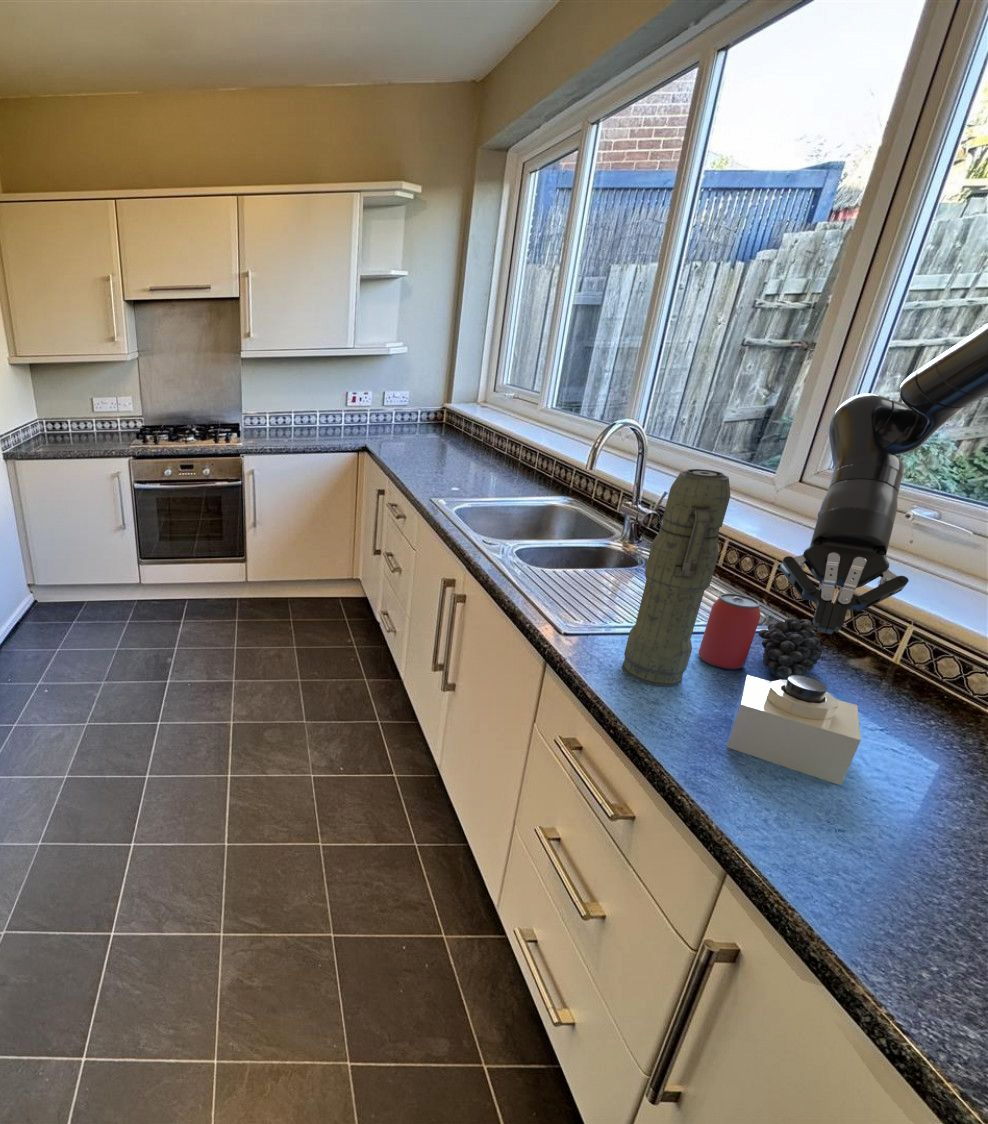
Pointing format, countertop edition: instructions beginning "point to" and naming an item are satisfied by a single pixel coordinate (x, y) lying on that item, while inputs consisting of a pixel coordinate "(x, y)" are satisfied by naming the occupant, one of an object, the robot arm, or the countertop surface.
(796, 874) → the countertop surface
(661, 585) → the thermos
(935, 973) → the countertop surface
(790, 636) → the fruit
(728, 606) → the beer can
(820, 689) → the black push button
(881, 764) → the countertop surface
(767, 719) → the push button housing
